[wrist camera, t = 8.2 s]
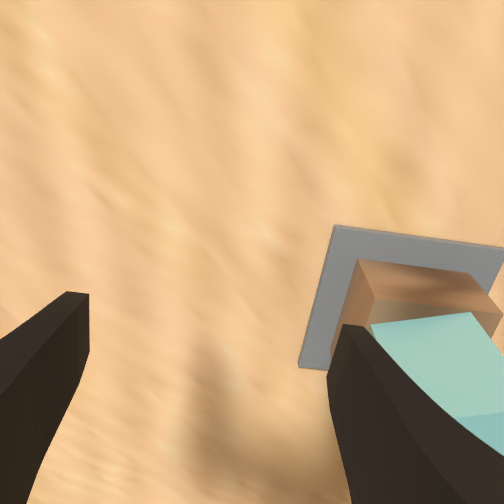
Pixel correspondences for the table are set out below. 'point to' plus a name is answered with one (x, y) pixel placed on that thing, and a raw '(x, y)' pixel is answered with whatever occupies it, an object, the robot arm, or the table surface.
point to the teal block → (452, 368)
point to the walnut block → (412, 296)
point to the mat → (386, 250)
